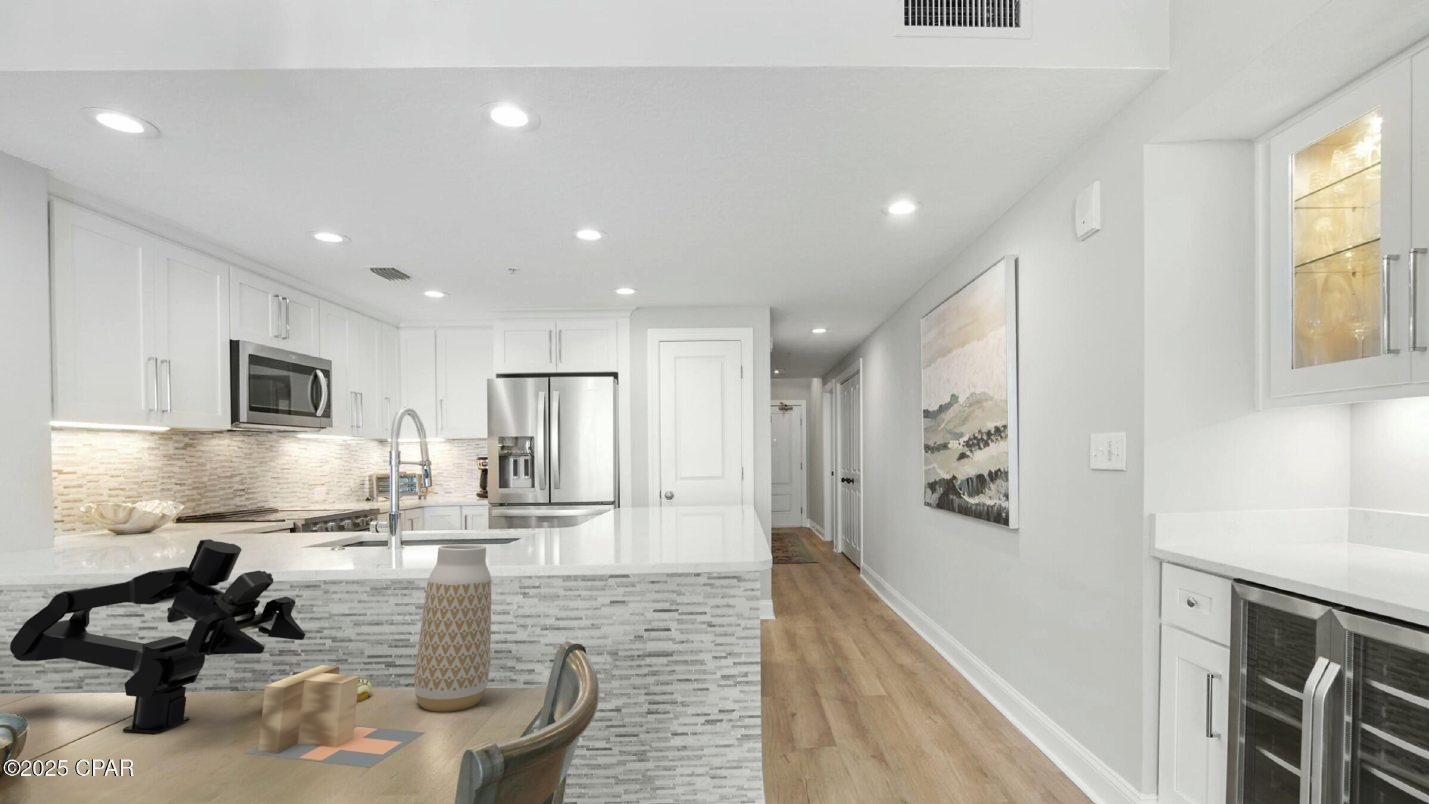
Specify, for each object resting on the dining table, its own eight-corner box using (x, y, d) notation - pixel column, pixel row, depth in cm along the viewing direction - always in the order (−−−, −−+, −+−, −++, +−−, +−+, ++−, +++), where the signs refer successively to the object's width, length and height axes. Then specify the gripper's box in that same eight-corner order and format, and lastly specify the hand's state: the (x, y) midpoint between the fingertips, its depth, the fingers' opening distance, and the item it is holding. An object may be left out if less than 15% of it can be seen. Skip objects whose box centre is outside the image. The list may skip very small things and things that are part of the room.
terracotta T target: (298, 761, 100) (298, 757, 100) (357, 730, 113) (357, 726, 113) (364, 769, 98) (365, 765, 98) (416, 736, 111) (417, 732, 111)
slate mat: (243, 757, 101) (244, 753, 101) (312, 724, 115) (312, 720, 115) (369, 771, 97) (370, 767, 97) (425, 736, 111) (425, 732, 111)
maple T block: (258, 751, 102) (265, 685, 103) (316, 723, 113) (321, 664, 115) (316, 758, 100) (323, 691, 101) (369, 729, 112) (374, 669, 113)
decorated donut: (324, 715, 120) (326, 694, 120) (299, 702, 126) (301, 682, 126) (380, 700, 128) (382, 680, 128) (354, 689, 134) (355, 670, 135)
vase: (502, 700, 130) (512, 546, 133) (448, 723, 117) (461, 552, 121) (452, 689, 135) (463, 541, 139) (395, 709, 123) (409, 546, 127)
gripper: (182, 571, 105) (260, 610, 102) (272, 557, 123) (340, 590, 121) (152, 636, 104) (230, 676, 102) (247, 612, 122) (315, 646, 120)
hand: (284, 643), depth 111 cm, fingers open, 9 cm apart
